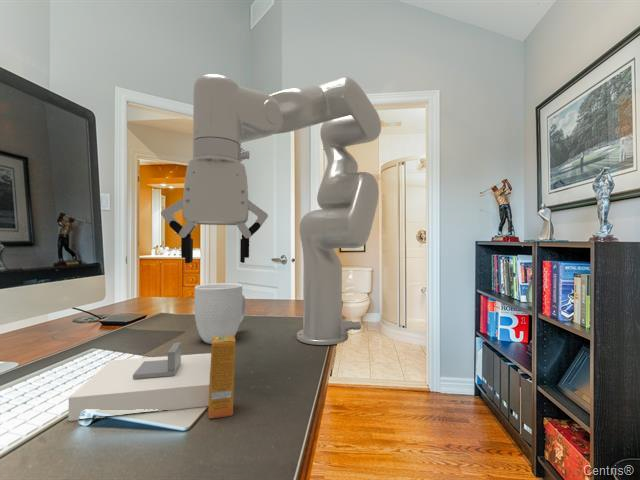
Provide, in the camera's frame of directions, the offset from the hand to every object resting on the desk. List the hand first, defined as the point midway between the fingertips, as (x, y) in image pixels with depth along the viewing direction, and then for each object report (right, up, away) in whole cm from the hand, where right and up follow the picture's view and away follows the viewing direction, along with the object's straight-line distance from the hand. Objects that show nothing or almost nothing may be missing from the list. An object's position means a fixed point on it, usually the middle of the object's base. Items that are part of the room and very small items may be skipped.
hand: (216, 262), depth 53 cm
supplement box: (+4, -20, -9) cm, 22 cm away
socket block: (-8, -20, -2) cm, 22 cm away
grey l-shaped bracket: (-8, -17, -2) cm, 19 cm away
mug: (-7, -21, +26) cm, 34 cm away
